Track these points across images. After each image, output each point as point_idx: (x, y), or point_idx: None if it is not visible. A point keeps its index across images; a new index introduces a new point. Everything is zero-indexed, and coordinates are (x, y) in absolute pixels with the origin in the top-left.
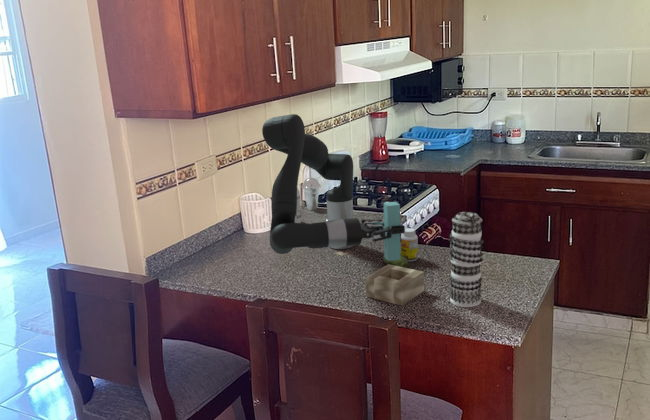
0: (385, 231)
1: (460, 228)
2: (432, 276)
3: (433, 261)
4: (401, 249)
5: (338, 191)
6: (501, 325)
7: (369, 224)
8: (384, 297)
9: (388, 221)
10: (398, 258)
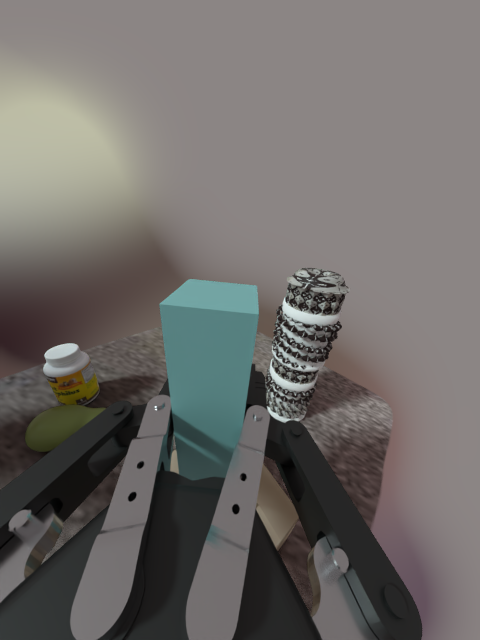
0: (331, 473)
1: (338, 303)
2: None
3: (129, 373)
4: (61, 394)
5: None
6: (364, 402)
7: (202, 582)
8: None
9: (246, 396)
10: None
